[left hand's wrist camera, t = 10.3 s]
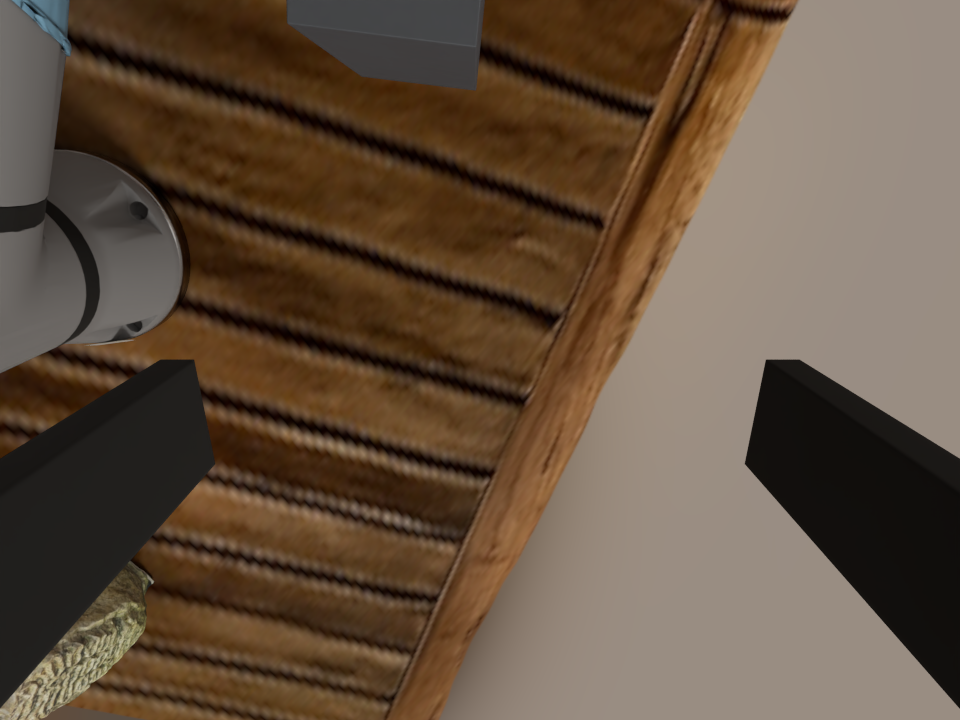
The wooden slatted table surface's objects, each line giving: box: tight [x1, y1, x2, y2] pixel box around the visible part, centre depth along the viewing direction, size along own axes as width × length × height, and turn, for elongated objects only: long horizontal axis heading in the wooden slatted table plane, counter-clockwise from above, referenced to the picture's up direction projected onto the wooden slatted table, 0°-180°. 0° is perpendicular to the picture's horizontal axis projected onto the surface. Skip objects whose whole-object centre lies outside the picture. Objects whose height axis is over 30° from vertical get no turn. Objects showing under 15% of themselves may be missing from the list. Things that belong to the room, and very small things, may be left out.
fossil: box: [0, 561, 154, 720], centre depth 48 cm, size 9×18×15 cm, turn 65°
